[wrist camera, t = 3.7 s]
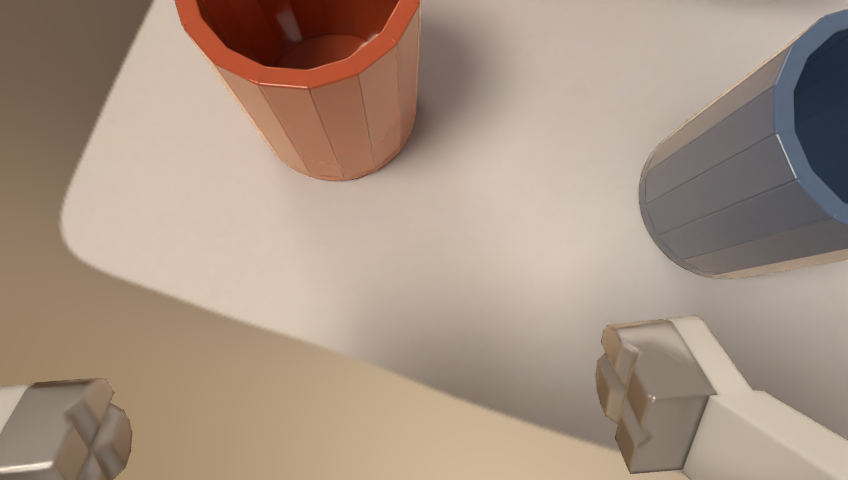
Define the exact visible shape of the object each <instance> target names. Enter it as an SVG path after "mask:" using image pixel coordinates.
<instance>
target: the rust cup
mask: <svg viewBox="0 0 848 480" xmlns="http://www.w3.org/2000/svg"><path fill="white" fill-rule="evenodd" d="M175 3H176V7H177V10H178V14H179V17H180V21H181V24H182V26H183V28H184V30H185V31H186V33H187V34H188V36H189V37H190V38H191V40H192V41H193V43H194V44H195V45H196V47H197V48H198V49H199V51H200V52H201V54H202V55H203V56H204V58H205V59H206V60H207V62H208V63H209V65H210V66H211V67H212V69H213V70H214V71H215V73H216V74H217V76H218V77H219V78H220V80H221V81H222V83H223V84H224V85H225V87H226V88H227V89H228V91H229V92H230V94H231V95H232V96H233V98H234V99H235V100H236V102H237V103H238V105H239V106H240V107H241V109H242V110H243V111H244V113H245V114H246V116H247V117H248V118H249V120H250V121H251V123H252V124H253V125H254V127H255V128H256V129H257V131H258V132H259V134H260V135H261V136H262V138H263V139H264V140H265V141H266V142H267V143H268V145H269V146H270V147H271V148H272V150H273V151H274V152H275V154H276V155H277V156H278V157H279V158H280V159H281V160H282V161H283V162H285V163H286V164H287V165H289V166H290V167H291V168H293V169H295V170H297V171H298V172H300V173H303V174H305V175H307V176H310V177H314V178H317V179H323V180H330V181H342V180H351V179H355V178H359V177H362V176H365V175H368V174H370V173H372V172H374V171H376V170H378V169H380V168H381V167H383V166H384V165H385V164H387V163H388V162H389V161H390V160H392V159H393V158H394V157H395V156H396V155H397V154H398V152H399V151H400V150H401V149H402V148H403V146H404V144H405V143H406V141H407V140H408V138H409V135H410V133H411V131H412V128H413V125H414V121H415V117H416V105H417V92H418V72H419V50H420V28H421V5H422V0H175Z"/></svg>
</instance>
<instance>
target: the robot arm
mask: <svg viewBox="0 0 848 480" xmlns="http://www.w3.org/2000/svg"><path fill="white" fill-rule="evenodd" d="M601 343H602V345H603V348H604V350H605V352H606V353H605V354H604V355H603V356H602V357H601V358H600V359H599V360H598V361H597V368H596V385H597V392H598V396H599V400H600V403H601V406H602V408H603V411H604V413H605V416H607V417H608V418H610V419H611V420H612V421H614V422H615V423H616V424H618V427H617V432H616V436H615V439H616V442H617V444H618V446H619V449H620V451H621V454H622V456H623V458H624V460H625V463H626V465H627V467H628V470H629V472H630V474H636V473H648V472H659V471H671V470H682V469H683V471H682V473H683V474H685V475H686V476H687V477H688V478H689V479H690V480H848V440H847V439H845V438H843V437H841V436H840V435H838V434H836V433H835V432H833V431H831V430H829V429H828V428H826V427H824V426H823V425H821V424H819V423H817V422H816V421H814V420H812V419H811V418H809V417H807V416H806V415H804V414H802V413H800V412H799V411H797V410H795V409H794V408H792V407H790V406H788V405H787V404H785V403H783V402H782V401H780V400H778V399H776V398H775V397H773V396H771V395H770V394H768V393H766V392H765V391H763V390H759V391H753V390H752V389H751V387H750V386H749V384H748V383H747V382H746V380H745V379H744V377H743V376H742V375H741V373H740V372H739V370H738V369H737V367H736V366H735V365H734V363H733V362H732V360H731V359H730V358H729V356H728V355H727V353H726V352H725V350H724V349H723V348H722V346H721V345H720V343H719V342H718V341H717V339H716V338H715V336H714V335H713V334H712V332H711V331H710V329H709V328H708V326H707V325H706V324H705V322H704V321H703V319H701V318H699V317H698V316H687V317H678V318H669V319H665V320H664V319H659V320H650V321H641V322H632V323H623V324H615V325H607V326H606V328H605V329H604V331H603V335H602V340H601ZM113 394H114V390H113V389H112V387H111V386H110V384H109V382H108V381H107V379H104V378H89V379H77V380H63V381H51V382H38V383H32V384H19V385H6V386H2V387H0V480H113V479H114V478H116V476H118V475H119V473H121V472H122V471H123V470H124V469H125V468H126V465H127V461H128V458H129V455H130V452H131V441H132V430H131V425H130V421H129V419H128V417H127V415H126V413H125V411H124V410H123V409H121V408H119V407H117V406H116V405H114V404H112V403H110V402H111V400H112V397H113Z"/></svg>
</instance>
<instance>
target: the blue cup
mask: <svg viewBox="0 0 848 480" xmlns="http://www.w3.org/2000/svg"><path fill="white" fill-rule="evenodd" d="M639 204H640V209H641V214H642V217H643V220H644V223H645V226H646V228H647V230H648V232H649V234H650V235H651V237H652V239H653V240H654V242H655V243H656V244H657V246H658V247H659V248H660V249H661V250H662V251H663V252H664V253H665V254H666V255H667V256H668V257H669V258H670V259H671V260H673V261H674V262H675V263H677V264H678V265H680V266H681V267H683V268H685V269H687V270H689V271H691V272H693V273H696V274H699V275H702V276H706V277H711V278H718V279H731V278H747V277H753V276H758V275H764V274H770V273H776V272H781V271H787V270H793V269H799V268H804V267H810V266H816V265H822V264H827V263H833V262H839V261H845V260H848V9H845V10H842V11H838V12H835V13H832V14H828V15H825V16H824V17H822V18H820V19H819V20H818V21H816V22H815V23H814V24H812V25H811V26H810V27H809V28H807V29H806V30H805V31H803V32H802V33H801V34H799V35H798V36H797V37H796V38H794V39H793V40H792V41H790V42H789V43H788V44H786V45H785V46H784V47H783V48H781V49H780V50H779V51H777V52H776V53H775V54H773V55H772V56H771V57H770V58H768V59H767V60H766V61H764V62H763V63H762V64H760V65H759V66H758V67H757V68H755V69H754V70H753V71H751V72H750V73H749V74H747V75H746V76H745V77H744V78H742V79H741V80H740V81H738V82H737V83H736V84H734V85H733V86H732V87H731V88H729V89H728V90H727V91H725V92H724V93H723V94H721V95H720V96H719V97H718V98H716V99H715V100H714V101H712V102H711V103H710V104H708V105H707V106H706V107H705V108H703V109H702V110H701V111H699V112H698V113H697V114H695V115H694V116H693V117H692V118H690V119H689V120H688V121H686V122H685V123H684V124H682V125H681V126H680V127H679V128H678V129H676V130H675V131H674V132H673V133H672V134H671V135H670V136H668V137H667V138H666V139H664V140H663V141H662V142H661V143H660V144H659V145H658V146H657V147H656V148H655V149H654V151H653V152H652V153H651V155H650V156H649V158H648V160H647V162H646V164H645V166H644V169H643V172H642V175H641V180H640V186H639Z"/></svg>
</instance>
